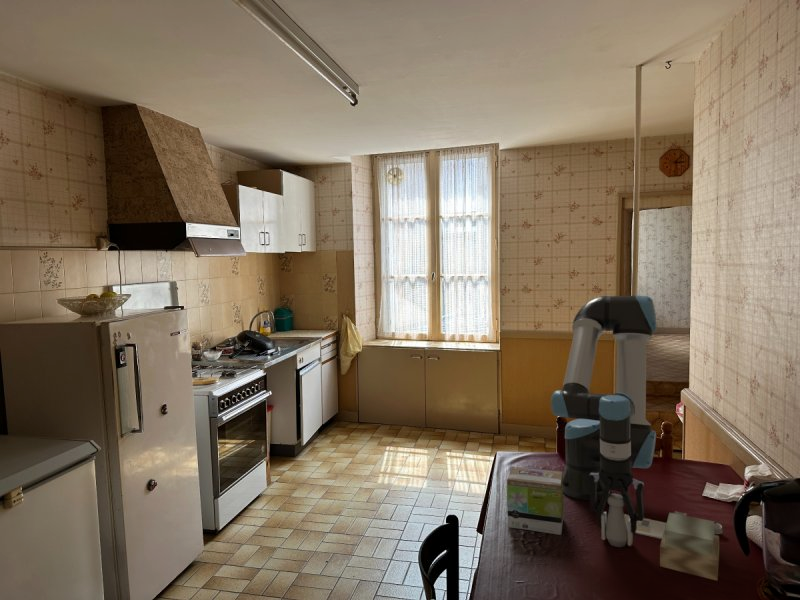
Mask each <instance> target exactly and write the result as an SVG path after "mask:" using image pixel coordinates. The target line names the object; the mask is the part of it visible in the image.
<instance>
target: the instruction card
mask: <svg viewBox="0 0 800 600" xmlns="http://www.w3.org/2000/svg"><path fill="white" fill-rule="evenodd" d="M624 517H625V521H626V525H627V521H628V518H629V514H626V513H624ZM666 523H667V522H663V521H659V520H653V519H650V518H646V517H644V518H643V520H642V521H637V530H636V532H635V533H634V534H638V535H642V536H647V537H651V538H654V539H655V538H656V539H659V540H662V537H663V533H664V529H665V525H666Z"/></svg>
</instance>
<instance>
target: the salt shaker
mask: <svg viewBox="0 0 800 600" xmlns="http://www.w3.org/2000/svg"><path fill="white" fill-rule="evenodd" d="M606 502H607V504H608V505H609V508H608V513H607V524H606V530H605V534H606V538H607V541H608V543H609V544H610V546H613V547H616V548H623V547H625V546H626V544H627V543H628V531H627V525H626V521H625V517H624V514H625V513H624V507H625V506H626V505H625V502H624V499H623V496H622V495H621V494H619V493H610V495H609V496H608V497H607V500H606Z"/></svg>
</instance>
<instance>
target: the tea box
mask: <svg viewBox="0 0 800 600" xmlns="http://www.w3.org/2000/svg"><path fill="white" fill-rule="evenodd" d="M563 474H564V471H559V470H558V471H557V470H548V469H538V468H528V467H519V466H511V468H510V471H509V474H508V477H507V479H506V495H507V496H506V499H507V501H506V503H507V504H506V505H507V526H508V528H509V529H520V530H524V531H526V530H527V531H533V532H539V533H546V534H551V535H552V534H553V535H558V536H561V535H562V531H563V520H564V493H563Z"/></svg>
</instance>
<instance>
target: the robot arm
mask: <svg viewBox="0 0 800 600" xmlns="http://www.w3.org/2000/svg"><path fill="white" fill-rule="evenodd" d="M657 328H658V327H657V318H656V312H655V306H654V302H653V299H652V298H651V297H650V296H647V295H638V294H637V295H610V296H609V295H602V296H598V297H594V298H592V299H591V300H589V301H587V302H586V303H584V305H582V307H581V308H580V309H578V311H577V313H576V314H575V316H574V319H573V322H572V326H571V330H572V332H573V336H572V337H573V338H572V341H571V345H570V351H569V355H568V359H567V365H566V370H565V375H564V379H563V382H562V383H563V384H562V389H560V390H553V393H552V395H551V397H550V398H551V399H550V406H551V412H552V414H553V415H554V416H556V417H561V418H562V417H563V418H567V419H570V418H571V419H573V420H570V421H568V422H567V424H566V425H565V428H564V429H565V430H564V441H565V442H564V444H565V468H564V471H563V494H565V495H566V496H568V497H570V498H573V499H576V500H581V501H589V510H590V511H591V512H595V513H596V515H597V525H598V526H600V527H601V540H604V541H605V540H606V538H607V537H606V534H605V530H606V524H607V519H608V517H607V511H604V509H605V507H606V503H607V498H608V496H609V495H610V494H611V491H616V492H619V493H620V495H621V496H623V499H624V502H625V505H624V506H625V508H626V511H627V513H628V514H627V515H629V518H628V521H627V531H628V540H627V546H629V547H631V546H632V545H633V540H634V539H633V534H636V533H635V532H636V530H637V521H642V520H643V518H645V507H644V506H645V505H644V494H643V488H644V485H645V481H644V480H638V479H636V478H634V476H633V474H632V468H633V469H636V468H638V469H648V468H650V467H651V466H652V463H653V459H654V454H655V449H656V440H657V432H656V431H655V430H653V429H652V424H651V423H650V422H649V421H648V420H647V418H646V417H647V415H646V414H647V413H646V412H647V411H646V410H647V406H646V404H647V342H649V341H650V340H651V339H652V337H653V333H657V331H658V329H657ZM604 331H606V332H612V337H613V338H614V340H616V342H617V348H616V349H617V351H616V353H617V355H616V357H617V358H616V363H617V364H616V392H613V394H606V393H593V392H590V388H591V382H592V377H593V372H594V371H593V370H594V365H595V358H596V352H597V347H598V340H599V338H600V337H601V336H602V335H603V333H604ZM631 485H633V488H634V490H635V497H636V498H635V499H636V509H635V506H634V503H633V500H632V497H631V495H630V490H629V487H630V486H631ZM598 501H600V502H599V504H597V502H598Z"/></svg>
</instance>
